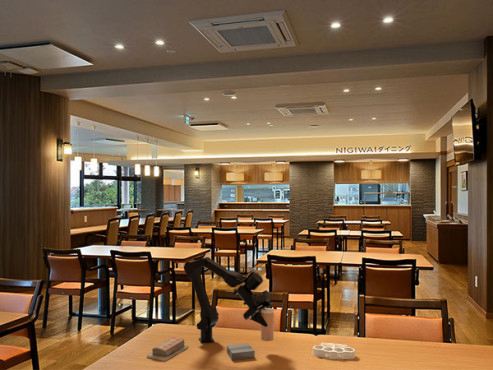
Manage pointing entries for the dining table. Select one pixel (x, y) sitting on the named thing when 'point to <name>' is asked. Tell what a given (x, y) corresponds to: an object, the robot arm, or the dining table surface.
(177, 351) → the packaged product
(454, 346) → the dining table surface
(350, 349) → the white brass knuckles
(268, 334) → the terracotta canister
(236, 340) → the dining table surface
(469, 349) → the dining table surface
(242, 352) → the riser block
